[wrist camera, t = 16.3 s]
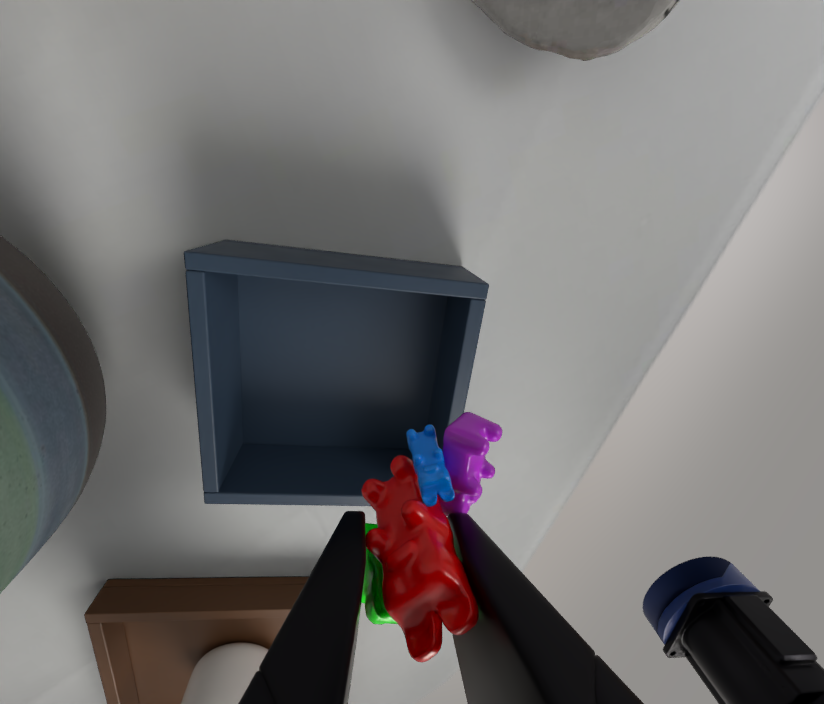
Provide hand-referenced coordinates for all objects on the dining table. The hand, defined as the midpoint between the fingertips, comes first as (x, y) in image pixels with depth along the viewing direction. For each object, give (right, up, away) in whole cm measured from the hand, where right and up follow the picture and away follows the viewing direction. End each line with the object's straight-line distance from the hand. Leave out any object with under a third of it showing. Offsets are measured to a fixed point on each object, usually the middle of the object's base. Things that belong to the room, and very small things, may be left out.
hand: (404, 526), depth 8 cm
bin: (-3, +3, +10) cm, 11 cm away
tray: (-11, -16, +17) cm, 26 cm away
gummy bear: (0, +1, +1) cm, 1 cm away
